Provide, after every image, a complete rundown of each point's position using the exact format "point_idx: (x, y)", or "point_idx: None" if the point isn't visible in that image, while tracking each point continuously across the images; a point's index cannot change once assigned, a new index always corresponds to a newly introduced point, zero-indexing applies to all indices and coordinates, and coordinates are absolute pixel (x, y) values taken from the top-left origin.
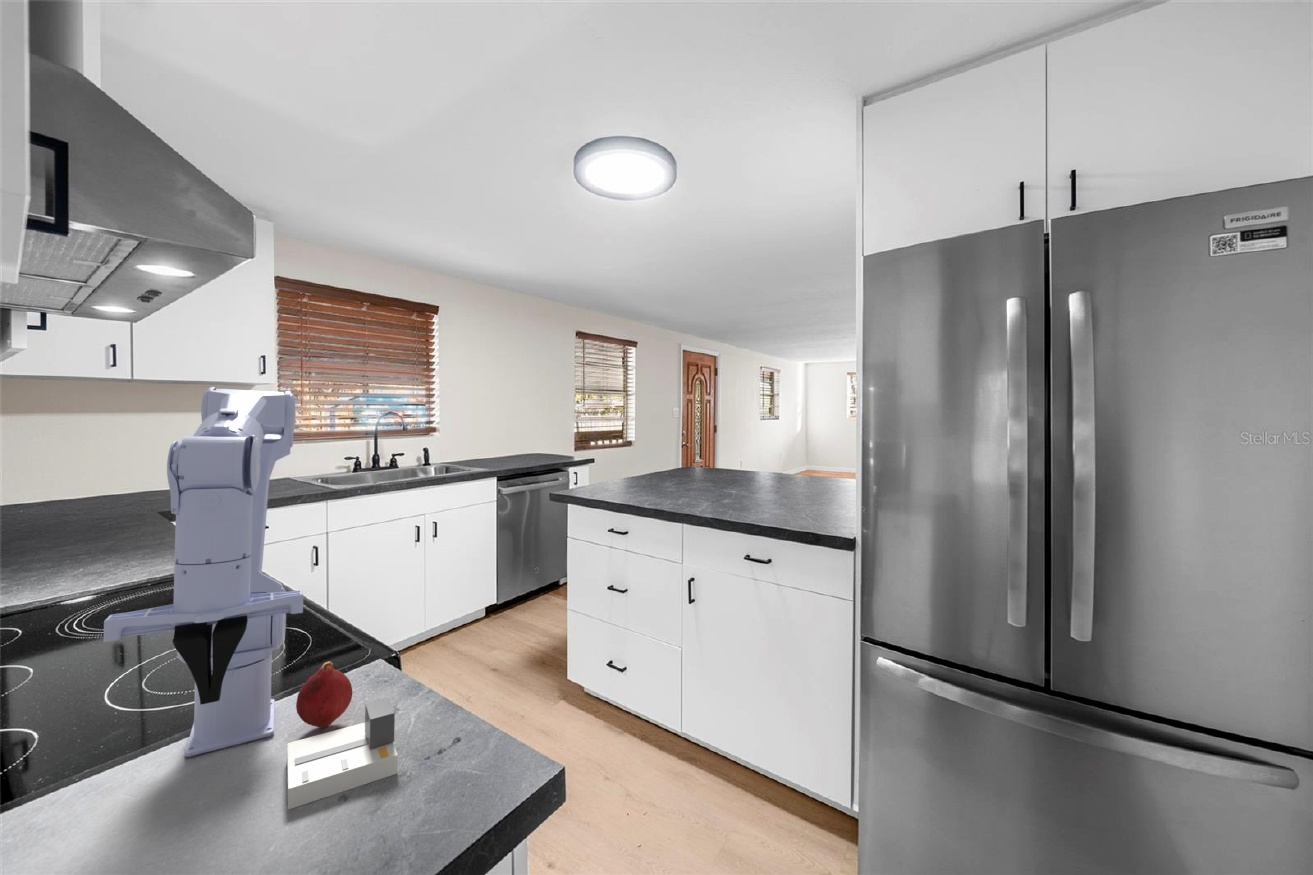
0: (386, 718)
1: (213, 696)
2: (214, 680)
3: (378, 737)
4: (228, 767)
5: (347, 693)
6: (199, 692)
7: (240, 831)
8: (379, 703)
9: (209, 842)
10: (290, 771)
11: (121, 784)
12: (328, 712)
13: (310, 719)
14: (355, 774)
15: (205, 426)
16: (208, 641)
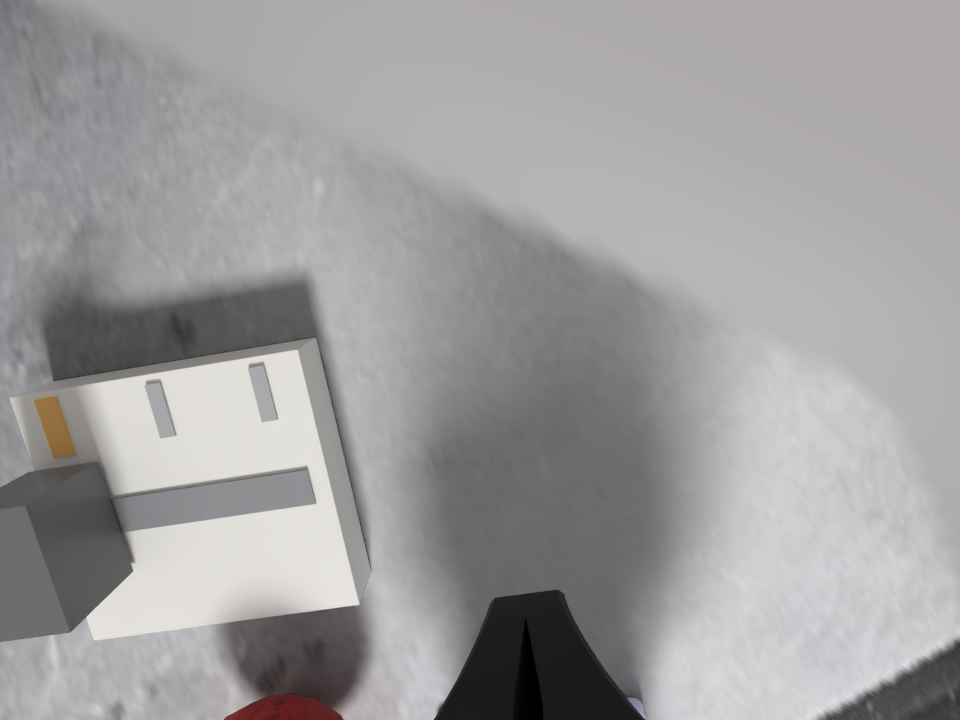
0: None
1: (510, 608)
2: (503, 658)
3: (52, 476)
4: None
5: None
6: (570, 620)
7: (413, 295)
8: (18, 613)
9: (476, 282)
10: (312, 440)
11: (759, 637)
12: (254, 709)
13: (312, 704)
14: (136, 373)
15: None
16: None
